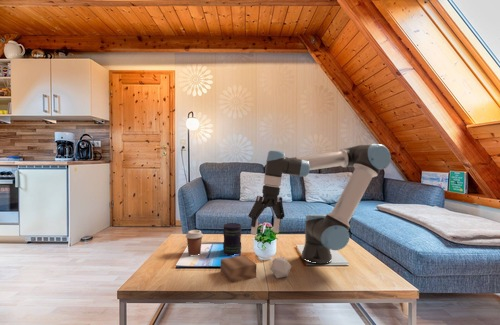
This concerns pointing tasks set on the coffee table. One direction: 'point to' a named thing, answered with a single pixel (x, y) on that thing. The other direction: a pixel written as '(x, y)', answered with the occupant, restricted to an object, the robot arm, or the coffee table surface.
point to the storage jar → (232, 238)
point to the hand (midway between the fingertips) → (264, 233)
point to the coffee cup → (194, 242)
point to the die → (280, 267)
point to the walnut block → (238, 268)
